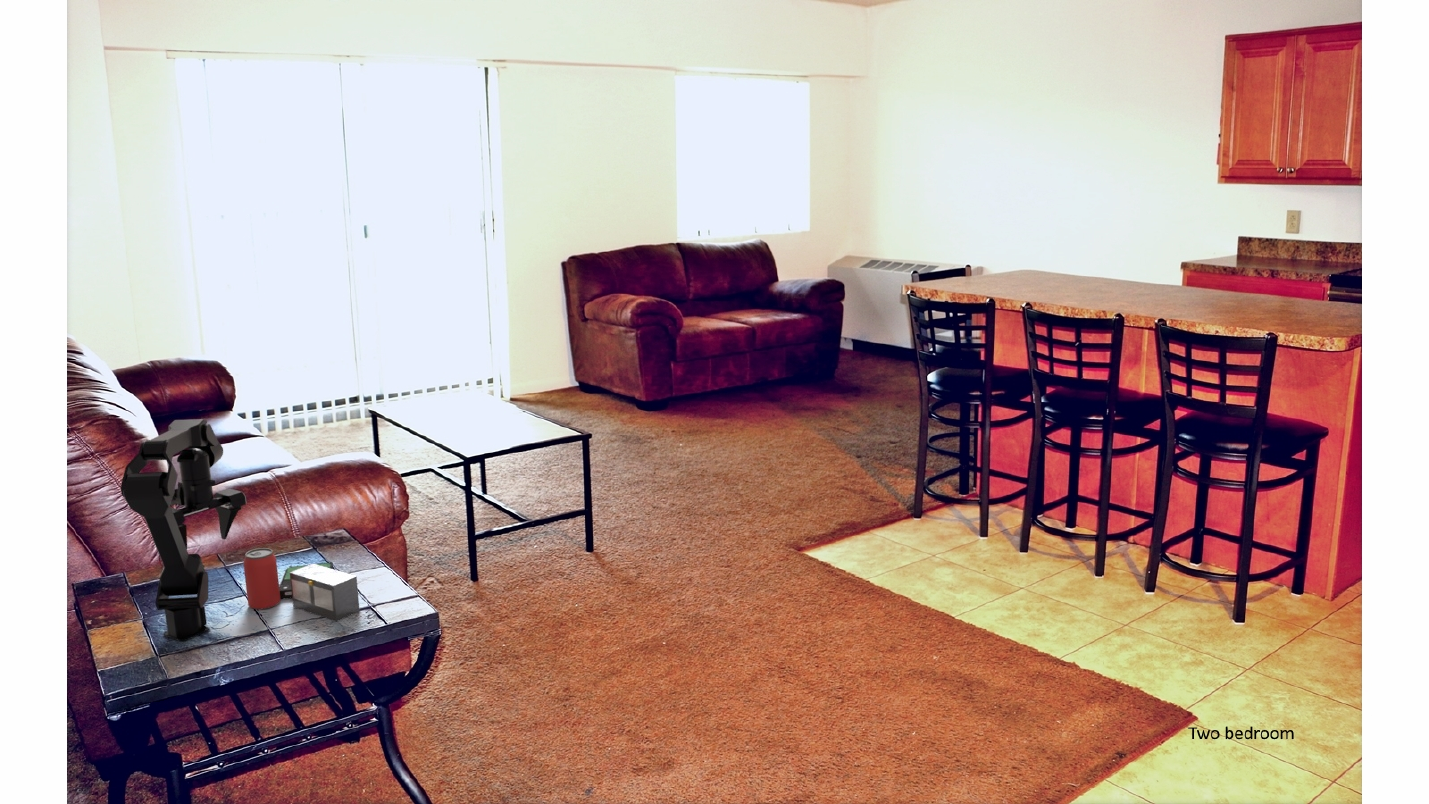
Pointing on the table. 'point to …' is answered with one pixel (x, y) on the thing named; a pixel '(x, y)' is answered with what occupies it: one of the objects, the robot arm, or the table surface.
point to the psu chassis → (324, 592)
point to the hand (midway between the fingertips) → (204, 545)
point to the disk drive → (286, 582)
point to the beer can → (261, 579)
